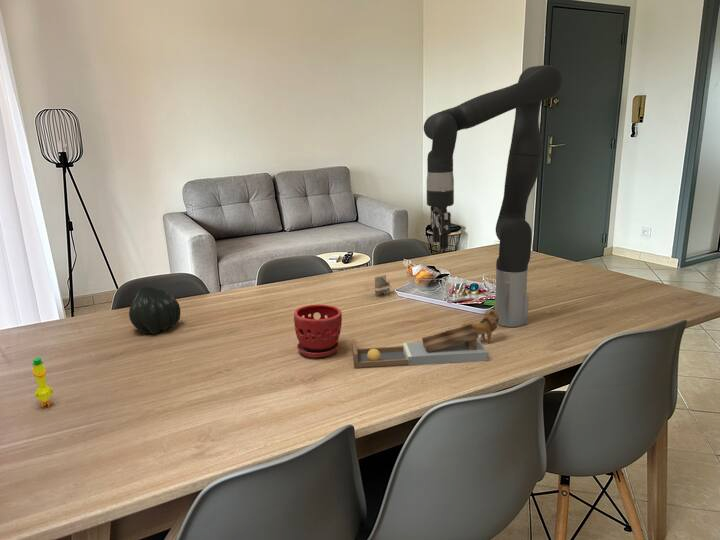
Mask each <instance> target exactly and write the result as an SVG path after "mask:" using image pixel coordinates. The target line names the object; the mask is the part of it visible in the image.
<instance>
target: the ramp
mask: <svg viewBox="0 0 720 540" xmlns="http://www.w3.org/2000/svg"><path fill="white" fill-rule="evenodd" d="M461 326H462V325H461ZM461 326H458V327H456V328H455V327H454V328H452V329H449V330H448V331H446V330H445V331H441V332H437V333H433V334H431V335H428V336H424V337H422V338H421V341H422V342H423V346H424V348H425V350H426V352H427V353H429V352H432V351H436V350H439V349H443V348H446V347H450V346H453V345H456V344H460V343H463V342H464V343H465V345H466V346H467V348H468V349H469V350H476V349H477V339H480V338H479V335H478V333H477V331H474V330H473V327H472V324H468V325H465V326H462V327H461Z"/></svg>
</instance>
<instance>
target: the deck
mask: <svg viewBox="0 0 720 540" xmlns="http://www.w3.org/2000/svg"><path fill="white" fill-rule="evenodd" d="M402 346H403V352H404V355H405V357H406V359H408V365H407V366H417V365H420V366H423V365H438V364H439V365H440V364H452V363H453V364H454V363H469V362H471V363H473V362H487V361H488V351H487V350H486V349H487V348H485V346H483V344H482V343H481V340H479V338H477V349H476V350H469V349H468V348H467V346H466V345H465V343H464V342H463V343H460V344H456V345H453V346H450V347H446V348H443V349H439V350H436V351H432V352H429V353H427V352H426V350H425V348H424V346H423V341H422V342H407V343H406V342H405V343H404V342H403V343H402Z"/></svg>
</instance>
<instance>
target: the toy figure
mask: <svg viewBox="0 0 720 540" xmlns="http://www.w3.org/2000/svg"><path fill="white" fill-rule="evenodd" d="M32 361H33V363H31V364H32V375H33V377H34V379H35V380H36V383H37V385H38V387H37V388H36V390H35V392H34V395H35V397H36V398H37V400H39V401H40V406H41V405H42V406H46V407H47V405H50V403H51V400H50V398H51V396H52V394H54V389H53V387H50V386H49V385H47V377H46V374H47V369H46V368H45V364H44V361H43V360H42V358H41V357H36V358H35V357H34V358H33V359H32ZM46 404H47V405H46ZM42 406H41V407H42ZM50 406H51V405H50Z"/></svg>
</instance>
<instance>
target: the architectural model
mask: <svg viewBox="0 0 720 540" xmlns="http://www.w3.org/2000/svg"><path fill="white" fill-rule="evenodd" d="M391 288H393V286H392V285H391V284H390V281H387V275H386V274H383V275H380V276H379V275H378V276H376V277H374V287H373V288H372V290H374V297H377V296H380V295H385V296H386V295H387V294H389V295H390V292H391V290H390V289H391Z"/></svg>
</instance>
